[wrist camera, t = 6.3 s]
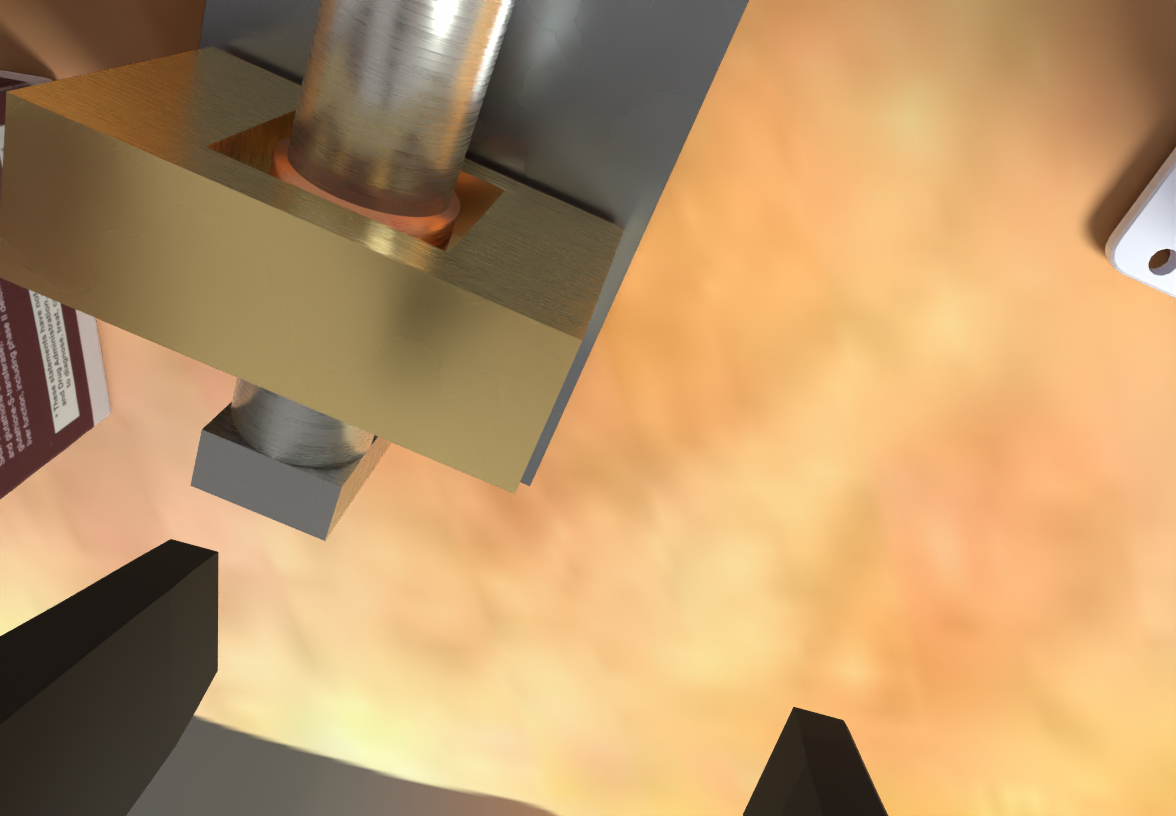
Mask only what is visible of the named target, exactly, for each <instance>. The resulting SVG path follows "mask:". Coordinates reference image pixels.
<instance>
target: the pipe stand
mask: <svg viewBox="0 0 1176 816" xmlns="http://www.w3.org/2000/svg"><path fill="white" fill-rule="evenodd" d="M748 1H749V0H206V6H205V13H204V19H203V25H202V32H201V38H200V44H199V49H202V48H206V47H211V46H213V47H215V48H217V49H219V50H222V51H224V52H226V53H228V54H231V55H233V56H235V57H237V58H240V59H242V60H244V61H246V62H249V63H251V64H253V65H255V66H258V67H260V68H262V69H265V70H267V71H269V72H271V73H274V74H276V75H278V76H280V77H283V78H285V79H287V80H289V81H292V82H294V83H296V84H298V85H301V90H300V95H299V99H298V104H297V109H296V113H295V118H294V122H293V127H292V131H291V136H290V137H288V138H285V139H283V140H281V141H279V142H278V143H277V145H276V146H275V149H274V153H273V158H272V162H271V167H270V172H269V175H271V176H274V177H276V178H278V179H280V180H283V181H285V182H287V183H290V184H292V185H294V186H297V187H299V188H301V189H303V190H306V191H308V192H310V193H313V194H315V195H317V196H320V197H322V198H324V199H326V200H329V201H331V202H333V203H336V204H338V205H340V206H343V207H345V208H347V209H349V210H352V211H354V212H356V213H359V214H361V215H363V216H366V217H368V218H370V219H372V220H375V221H377V222H379V223H382V224H384V225H386V226H389V227H391V228H393V229H395V230H398V231H400V232H402V233H405V234H407V235H409V236H412V237H414V238H416V239H418V240H421V241H423V242H425V243H428V244H430V245H432V246H435V247H437V248H439V249H441V250H444V251H446V250H447V247H448V244H449V241H450V238H451V235H452V232H453V229H454V226H455V223H456V220H457V217H458V214H459V211H460V201H459V199H458V197H457V195H456V194H455V192H454V189H455V186H456V183H457V179H458V176H459V173H460V170H461V167H462V164H463V161H464V158H466V159H468V160H470V161H473V162H475V163H477V164H479V165H482V166H484V167H486V168H488V169H491V170H493V171H495V172H498V173H500V174H502V175H504V176H507V177H509V178H511V179H513V180H516V181H518V182H520V183H522V184H525V185H527V186H529V187H531V188H534V189H536V190H538V191H540V192H543V193H545V194H547V195H550V196H552V197H554V198H556V199H559V200H561V201H563V202H565V203H568V204H570V205H572V206H574V207H577V208H579V209H581V210H583V211H586V212H588V213H590V214H593V215H595V216H597V217H599V218H602V219H604V220H606V221H608V222H611V223H613V224H615V225H617V226H620V227H622V228H624V232H623V235H622V237H621V240H620V242H619V245H618V248H617V250H616V253H615V256H614V258H613V261H612V264H611V266H610V269H609V272H608V274H607V277H606V280H605V282H604V285H603V287H602V290H601V293H600V295H599V298H598V301H597V303H596V306H595V309H594V311H593V314H592V317H591V319H590V322H589V325H588V327H587V330H586V332H585V335H584V338H583V340H582V343H581V345H580V347H579V350H578V352H577V354H576V356H575V359H574V361H573V363H572V365H571V368H570V370H569V372H568V374H567V377H566V379H565V381H564V383H563V386H562V388H561V390H560V392H559V395H558V397H557V399H556V402H555V404H554V406H553V408H552V411H551V413H550V415H549V417H548V420H547V422H546V424H545V426H544V429H543V431H542V433H541V435H540V438H539V440H538V442H537V444H536V447H535V449H534V451H533V454H532V456H531V458H530V460H529V463H528V465H527V467H526V469H525V472H524V474H523V476H522V478H521V481H520V482H521V483H524V484H526V485H529V486H530V485H531V482H532V480H533V478H534V476H535V474H536V471H537V469H538V467H539V465H540V463H541V460H542V458H543V456H544V454H545V451H546V449H547V447H548V445H549V443H550V440H551V438H552V436H553V434H554V431H555V429H556V427H557V425H558V423H559V420H560V418H561V416H562V414H563V412H564V409H565V407H566V405H567V403H568V400H569V398H570V396H571V394H572V392H573V389H574V387H575V385H576V383H577V380H578V378H579V376H580V374H581V372H582V369H583V367H584V365H585V363H586V360H587V358H588V356H589V354H590V352H591V349H592V347H593V345H594V343H595V341H596V338H597V336H598V334H599V332H600V329H601V327H602V325H603V323H604V321H605V318H606V316H607V314H608V312H609V309H610V307H611V305H612V303H613V301H614V298H615V296H616V294H617V292H618V290H619V287H620V285H621V283H622V281H623V278H624V276H625V274H626V272H627V270H628V267H629V265H630V263H631V261H632V258H633V256H634V254H635V252H636V250H637V247H638V245H639V243H640V241H641V238H642V236H643V234H644V232H645V230H646V227H647V225H648V223H649V221H650V219H651V216H652V214H653V212H654V210H655V207H656V205H657V203H658V201H659V199H660V196H661V194H662V192H663V190H664V187H665V185H666V183H667V181H668V179H669V176H670V174H671V172H672V170H673V168H674V165H675V163H676V161H677V159H678V156H679V154H680V152H681V150H682V148H683V145H684V143H685V141H686V139H687V136H688V134H689V132H690V130H691V128H692V125H693V123H694V121H695V119H696V116H697V114H698V112H699V110H700V108H701V105H702V103H703V101H704V99H705V97H706V94H707V92H708V90H709V88H710V85H711V83H712V81H713V79H714V77H715V74H716V72H717V70H718V68H719V65H720V63H721V61H722V59H723V57H724V54H725V52H726V50H727V48H728V45H729V43H730V41H731V39H732V37H733V34H734V32H735V30H736V28H737V26H738V23H739V21H740V19H741V17H742V14H743V12H744V10H745V8H746V6H747V3H748ZM390 444H391V442H390V441H388V440H385V439H383V438H380V437H378V436H376V435H373V434H371V433H369V432H366V431H364V430H361V429H359V428H357V427H354V426H352V425H350V424H347V423H345V422H342V421H340V420H338V419H335V418H333V417H331V416H328V415H326V414H323V413H321V412H319V411H316V410H314V409H311V408H309V407H307V406H304V405H302V404H300V403H297V402H295V401H292V400H290V399H288V398H285V397H283V396H281V395H278V394H276V393H273V392H271V391H269V390H266V389H264V388H262V387H259V386H257V385H254V384H252V383H250V382H247V381H245V380H242V379H240V378H238V377H237V382H236V387H235V391H234V396H233V400H232V402H231V403H230V404H229V405H228V406H227V407H226V408H225V409H223V410H222V411H221V412H220V413H219V414H218V415H217V416H216V417H215V418H214V419H213V420H212V421H211V422H210V423H208V424H207V425H206V426H205V427H204V428H203V429H202V432H201V437H200V442H199V447H198V452H197V457H196V462H195V467H194V472H193V477H192V481H191V486H193V487H195V488H198V489H200V490H203V491H205V492H208V493H210V494H212V495H215V496H217V497H220V498H222V499H225V500H227V501H230V502H232V503H234V504H237V505H239V506H242V507H244V508H247V509H249V510H251V511H254V512H256V513H259V514H261V515H264V516H266V517H268V518H271V519H273V520H276V521H278V522H281V523H283V524H285V525H288V526H290V527H293V528H295V529H298V530H300V531H302V532H305V533H307V534H310V535H312V536H315V537H317V538H319V539H322V540H324V541H325V540H326V539H327V537H328V536H329V534H330V533H331V531H332V530H333V528H334V527H335V525H336V524H337V522H338V521H339V519H340V518H341V516H342V515H343V513H344V512H345V510H346V509H347V508H348V506H349V505H350V503H351V502H352V500H353V499H354V497H355V496H356V494H357V493H358V491H359V490H360V488H361V487H362V485H363V484H364V482H365V481H366V479H367V478H368V476H369V475H370V473H371V472H372V471H373V469H374V468H375V466H376V465H377V463H378V462H379V460H380V459H381V457H382V456H383V454H384V453H385V451H386V450H387V448H388V447H389V445H390Z"/></svg>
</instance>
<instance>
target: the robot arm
mask: <svg viewBox="0 0 1176 816" xmlns="http://www.w3.org/2000/svg"><path fill="white" fill-rule="evenodd" d="M1163 249H1170V253H1171V255H1170V257H1169V259H1168V261H1167V262H1166V263H1165V264H1164V265H1162V266H1161V267H1158V268H1154V269H1151V268H1149V266H1148V263H1149V260H1150V258H1151V256H1153V255H1154V254H1155V253H1156V252H1157V251H1160V250H1163ZM1105 256H1106V258H1107V260H1108V262H1109V263H1110V264H1111V265H1112V266H1113V267H1114V268H1115V269H1117V270H1118V271H1119V272H1120V273H1122V274H1124V275H1126V276H1128V277H1130V278H1133V279H1135V280H1137V281H1139V282H1141V283H1144V284H1146V285H1148V286H1150V287H1152V288H1155V289H1157V290H1159V291H1161V292H1163V293H1166V294H1168V295H1170V296H1172V297H1174V298H1176V147H1175V149H1174V150H1173V151H1172V153H1171V154H1170V156H1169V157H1168V158H1167V160H1166V161H1165V162H1164V164H1163V165H1162V166H1161V168H1160V169H1159V170H1158V172H1157V173H1156V174H1155V176H1154V177H1153V178H1152V180H1151V181H1150V183H1149V184H1148V185H1147V187H1146V188H1145V189H1144V191H1143V192H1142V193H1141V195H1140V196H1139V197H1138V199H1137V200H1136V201H1135V203H1134V204H1133V206H1132V207H1131V208H1130V210H1129V211H1128V212H1127V214H1126V215H1125V216H1124V218H1123V219H1122V220H1121V222H1120V223H1119V224H1118V226H1117V227H1116V229H1115V230H1114V231H1113V233H1112V234H1111V235H1110V237H1109V239H1108V241H1107V243H1106V247H1105ZM217 671H218V552H217V551H213V550H209V549H206V548H202V547H198V546H194V545H191V544H187V543H183V542H180V541H176V540H172V539H170V540H168V541H167V542H165V543H163V544H161V545H160V546H158V547H156V548H154V549H152V550H151V551H149V552H147V553H145V554H143V555H142V556H140V557H138V558H136V559H135V560H133V561H131V562H130V563H128V564H126V565H124V566H123V567H121V568H119V569H117V570H116V571H114V572H112V573H111V574H109V575H107V576H105V577H104V578H102V579H100V580H99V581H97V582H95V583H93V584H92V585H90V586H88V587H87V588H85V589H83V590H81V591H80V592H78V593H76V594H75V595H73V596H71V597H69V598H68V599H66V600H64V601H62V602H61V603H59V604H57V605H55V606H54V607H52V608H50V609H48V610H47V611H45V612H43V613H41V614H39V615H38V616H36V617H34V618H32V619H30V620H29V621H27V622H25V623H23V624H21V625H20V626H18V627H16V628H14V629H13V630H11V631H9V632H7V633H5V634H4V635H2V636H0V816H126V815H127V813H128V812H129V811H130V809H131V808H132V806H133V805H134V803H135V802H136V801H137V800H138V798H139V797H140V795H141V794H142V793H143V791H144V790H145V788H146V787H147V785H148V784H149V783H150V781H151V780H152V778H153V777H154V776H155V774H156V773H157V772H158V770H159V769H160V767H161V766H162V765H163V763H164V762H165V760H166V759H167V757H168V756H169V755H170V753H171V751H172V750H173V749H174V747H175V746H176V744H177V743H178V741H179V739H180V737H181V736H182V734H183V732H184V730H185V729H186V727H187V725H188V723H189V722H190V720H191V718H192V716H193V715H194V713H195V711H196V709H197V708H198V706H199V704H200V702H201V700H202V698H203V696H204V695H205V693H206V691H207V689H208V687H209V685H210V684H211V682H212V680H213V678H214V676H215V674H216V673H217ZM743 816H888V814H887V812H886V810H885V808H884V806H883V804H882V802H881V799H880V797H879V795H878V793H877V791H876V789H875V786H874V784H873V782H872V780H871V778H870V775H869V773H868V771H867V769H866V767H865V764H864V762H863V760H862V758H861V756H860V753H859V751H858V749H857V747H856V744H855V742H854V740H853V738H852V736H851V733H850V731H849V729H848V727H847V726H846V724H845V722H844V720H841V719H837V718H833V717H829V716H826V715H822V714H818V713H815V712H811V711H807V710H803V709H800V708H796V707H793V709H792V711H791V714H790V716H789V718H788V720H787V722H786V724H785V726H784V728H783V731H782V733H781V735H780V737H779V739H778V741H777V743H776V745H775V748H774V750H773V752H772V754H771V756H770V758H769V760H768V762H767V765H766V767H765V769H764V771H763V773H762V775H761V777H760V779H759V782H758V784H757V786H756V788H755V790H754V792H753V794H752V796H751V798H750V801H749V803H748V805H747V807H746V809H745V811H744V813H743Z"/></svg>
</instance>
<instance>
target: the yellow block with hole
mask: <svg viewBox="0 0 1176 816" xmlns="http://www.w3.org/2000/svg"><path fill="white" fill-rule="evenodd" d="M300 90H301V85H298V84H296V83H294V82H292V81H289V80H287V79H285V78H283V77H280V76H278V75H276V74H274V73H271V72H269V71H267V70H265V69H262V68H260V67H258V66H255V65H253V64H251V63H249V62H246V61H244V60H242V59H240V58H237V57H235V56H233V55H231V54H228V53H226V52H224V51H222V50H219V49H217V48H215V47H213V46H211V47H206V48H202V49H197V50H193V51H188V52H184V53H179V54H175V55H170V56H166V57H161V58H157V59H152V60H148V61H143V62H138V63H134V64H129V65H125V66H120V67H116V68H111V69H107V70H102V71H98V72H93V73H89V74H84V75H79V76H75V77H70V78H66V79H61V80H57V81H52V82H48V83H43V84H39V85H34V86H30V87H25V88H21V89H16V90H11V91H7V92H6V111H5V130H4V149H3V168H2V187H1V206H0V278H2V279H5V280H7V281H9V282H12V283H14V284H16V285H19V286H21V287H24V288H26V289H28V290H31V291H33V292H35V293H38V294H40V295H43V296H45V297H47V298H50V299H52V300H55V301H57V302H59V303H62V304H64V305H66V306H69V307H71V308H74V309H76V310H78V311H81V312H83V313H85V314H88V315H90V316H93V317H95V318H97V319H100V320H102V321H104V322H107V323H109V324H112V325H114V326H116V327H119V328H121V329H124V330H126V331H128V332H131V333H133V334H135V335H138V336H140V337H143V338H145V339H147V340H150V341H152V342H154V343H157V344H159V345H162V346H164V347H166V348H169V349H171V350H173V351H176V352H178V353H181V354H183V355H185V356H188V357H190V358H193V359H195V360H197V361H200V362H202V363H204V364H207V365H209V366H212V367H214V368H216V369H219V370H221V371H223V372H226V373H228V374H231V375H233V376H235V377H238V378H240V379H242V380H245V381H247V382H250V383H252V384H254V385H257V386H259V387H262V388H264V389H266V390H269V391H271V392H273V393H276V394H278V395H281V396H283V397H285V398H288V399H290V400H292V401H295V402H297V403H300V404H302V405H304V406H307V407H309V408H311V409H314V410H316V411H319V412H321V413H323V414H326V415H328V416H331V417H333V418H335V419H338V420H340V421H342V422H345V423H347V424H350V425H352V426H354V427H357V428H359V429H361V430H364V431H366V432H369V433H371V434H373V435H376V436H378V437H380V438H383V439H385V440H388V441H390V442H392V443H395V444H397V445H400V446H402V447H404V448H407V449H409V450H411V451H414V452H416V453H419V454H421V455H423V456H426V457H428V458H430V459H433V460H435V461H438V462H440V463H442V464H445V465H447V466H449V467H452V468H454V469H457V470H459V471H461V472H464V473H466V474H469V475H471V476H473V477H476V478H478V479H480V480H483V481H485V482H488V483H490V484H492V485H495V486H497V487H499V488H502V489H504V490H507V491H509V492H511V493H514V494H515V492H516V490H517V487H518V485H519V483H520V481H521V478H522V476H523V474H524V472H525V469H526V467H527V465H528V463H529V460H530V458H531V456H532V454H533V451H534V449H535V447H536V444H537V442H538V440H539V438H540V435H541V433H542V431H543V429H544V426H545V424H546V422H547V420H548V417H549V415H550V413H551V411H552V408H553V406H554V404H555V402H556V399H557V397H558V395H559V392H560V390H561V388H562V386H563V383H564V381H565V379H566V377H567V374H568V372H569V370H570V368H571V365H572V363H573V361H574V359H575V356H576V354H577V352H578V350H579V347H580V345H581V343H582V340H583V338H584V335H585V332H586V330H587V327H588V325H589V322H590V319H591V317H592V314H593V311H594V309H595V306H596V303H597V301H598V298H599V295H600V293H601V290H602V287H603V285H604V282H605V280H606V277H607V274H608V272H609V269H610V266H611V264H612V261H613V258H614V256H615V253H616V250H617V248H618V245H619V242H620V240H621V237H622V235H623V232H624V228H622V227H620V226H617V225H615V224H613V223H611V222H608V221H606V220H604V219H602V218H599V217H597V216H595V215H593V214H590V213H588V212H586V211H583V210H581V209H579V208H577V207H574V206H572V205H570V204H568V203H565V202H563V201H561V200H559V199H556V198H554V197H552V196H550V195H547V194H545V193H543V192H540V191H538V190H536V189H534V188H531V187H529V186H527V185H525V184H522V183H520V182H518V181H516V180H513V179H511V178H509V177H507V176H504V175H502V174H500V173H498V172H495V171H493V170H491V169H488V168H486V167H484V166H482V165H479V164H477V163H475V162H473V161H470V160H468V159H466V158H464V161H463V164H462V167H461V170H460V173H459V176H458V179H457V183H456V186H455V189H454V192H455V194H456V195H457V197H458V199H459V201H460V211H459V214H458V217H457V220H456V223H455V226H454V229H453V232H452V235H451V238H450V241H449V244H448V247H447V250H446V251H444V250H441V249H439V248H437V247H435V246H432V245H430V244H428V243H425V242H423V241H421V240H418V239H416V238H414V237H412V236H409V235H407V234H405V233H402V232H400V231H398V230H395V229H393V228H391V227H389V226H386V225H384V224H382V223H379V222H377V221H375V220H372V219H370V218H368V217H366V216H363V215H361V214H359V213H356V212H354V211H352V210H349V209H347V208H345V207H343V206H340V205H338V204H336V203H333V202H331V201H329V200H326V199H324V198H322V197H320V196H317V195H315V194H313V193H310V192H308V191H306V190H303V189H301V188H299V187H297V186H294V185H292V184H290V183H287V182H285V181H283V180H280V179H278V178H276V177H274V176H271V175H269V172H270V167H271V162H272V158H273V153H274V149H275V146H276V145H277V143H278V142H279V141H281V140H283V139H285V138H288V137H290V136H291V131H292V127H293V122H294V118H295V113H296V109H297V104H298V99H299V95H300Z"/></svg>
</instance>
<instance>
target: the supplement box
mask: <svg viewBox="0 0 1176 816" xmlns="http://www.w3.org/2000/svg"><path fill="white" fill-rule="evenodd" d="M52 81H53V80H52V79H49V78H46V77H40V76H34V75H28V74H22V73H16V72H10V71H4V70H0V206H1V187H2V168H3V149H4V130H5V111H6V92H7V91H11V90H16V89H21V88H25V87H30V86H34V85H39V84H43V83H48V82H52ZM110 412H111V408H110V402H109V396H108V390H107V383H106V377H105V371H104V365H103V359H102V353H101V347H100V341H99V335H98V329H97V323H96V318H95V317H93V316H90V315H88V314H85V313H83V312H81V311H78V310H76V309H74V308H71V307H69V306H66V305H64V304H62V303H59V302H57V301H55V300H52V299H50V298H47V297H45V296H43V295H40V294H38V293H35V292H33V291H31V290H28V289H26V288H24V287H21V286H19V285H16V284H14V283H12V282H9V281H7V280H5V279H2V278H0V499H1V498H3V497H4V496H5V495H7V494H8V493H9V492H11V491H12V490H13V489H15V488H16V487H17V486H18V485H20V484H21V483H22V482H23V481H25V480H26V479H27V478H28V477H29V476H31V475H32V474H33V473H35V472H36V471H37V470H39V469H40V468H41V467H42V466H44V465H45V464H46V463H48V462H49V461H50V460H52V459H53V458H54V457H56V456H57V455H58V454H60V453H61V452H62V451H64V450H65V449H66V448H68V447H69V446H70V445H71V444H72V443H74V442H75V441H76V440H78V439H79V438H80V437H81V436H82V435H83V434H85V433H86V432H87V431H89V430H90V429H92V428H93V427H94V426H96V425H97V424H98V423H99V422H100V421H102V420H103V419H105V418H106V417H107V416H108V415H109V414H110Z"/></svg>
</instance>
